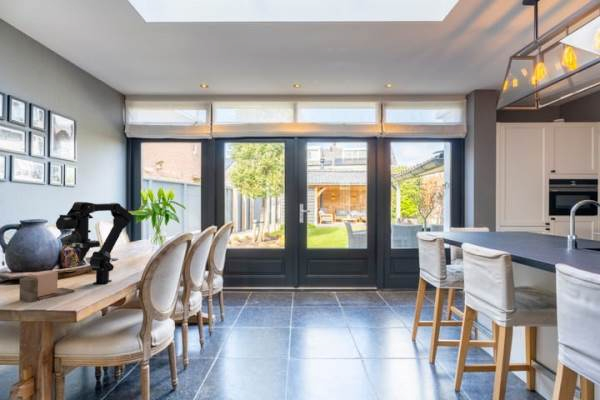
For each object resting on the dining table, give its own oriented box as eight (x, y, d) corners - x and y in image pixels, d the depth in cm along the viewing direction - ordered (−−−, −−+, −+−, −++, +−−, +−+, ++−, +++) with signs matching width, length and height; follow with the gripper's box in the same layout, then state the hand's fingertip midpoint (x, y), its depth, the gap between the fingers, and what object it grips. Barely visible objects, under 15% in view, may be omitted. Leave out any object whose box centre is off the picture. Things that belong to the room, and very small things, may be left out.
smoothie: (73, 273, 188) (73, 238, 187) (58, 273, 188) (59, 237, 188) (83, 270, 196) (83, 236, 196) (69, 270, 196) (69, 235, 196)
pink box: (48, 290, 150) (49, 270, 150) (57, 292, 147) (57, 271, 147) (28, 295, 142) (28, 274, 142) (37, 297, 140) (37, 275, 140)
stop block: (61, 289, 156) (62, 270, 156) (74, 292, 153) (74, 272, 153) (18, 299, 140) (18, 278, 140) (30, 302, 137) (31, 280, 137)
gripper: (50, 228, 155) (50, 262, 155) (77, 230, 147) (76, 266, 148) (75, 226, 165) (74, 258, 165) (101, 229, 158) (100, 262, 158)
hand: (80, 261), depth 159 cm, fingers closed
